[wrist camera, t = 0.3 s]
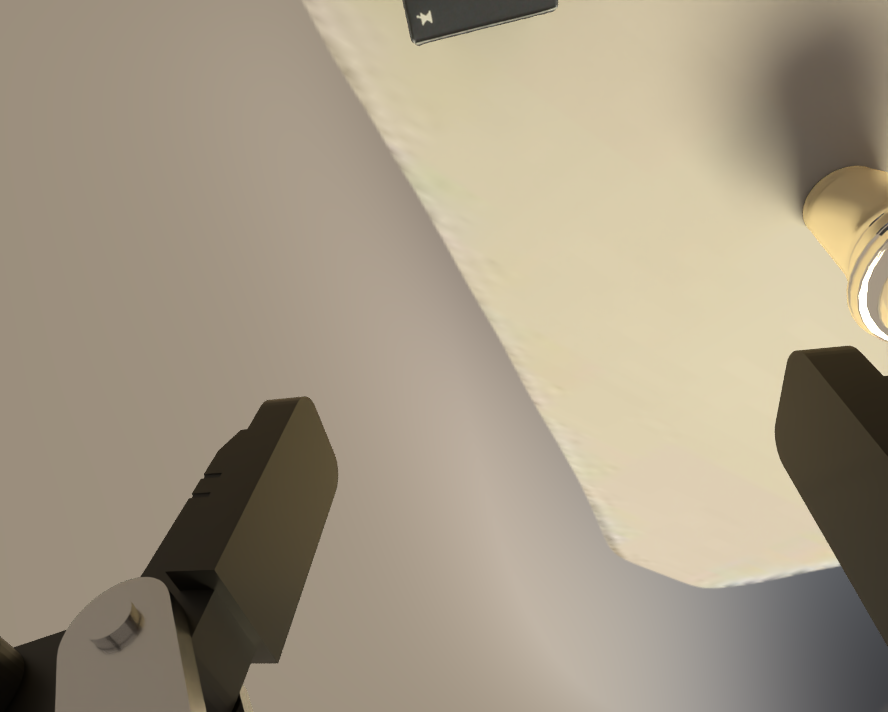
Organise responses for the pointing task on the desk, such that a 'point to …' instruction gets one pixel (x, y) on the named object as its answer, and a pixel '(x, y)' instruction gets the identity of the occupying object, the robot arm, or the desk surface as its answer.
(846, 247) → the cup with straw
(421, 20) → the small box
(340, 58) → the desk surface
